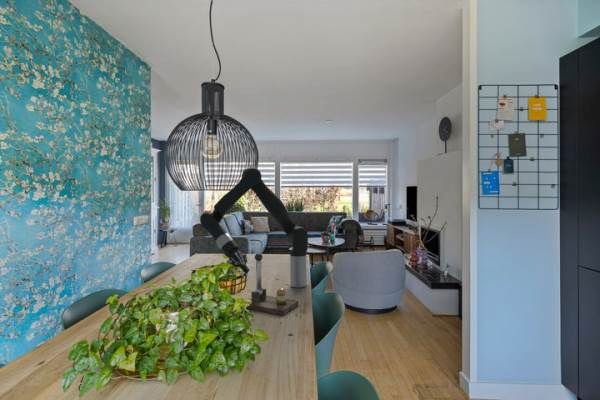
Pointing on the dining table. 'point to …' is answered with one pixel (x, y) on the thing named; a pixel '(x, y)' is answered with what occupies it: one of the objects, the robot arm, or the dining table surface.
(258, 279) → the lever
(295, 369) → the dining table surface
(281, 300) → the tan rounded cylinder
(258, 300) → the press base
